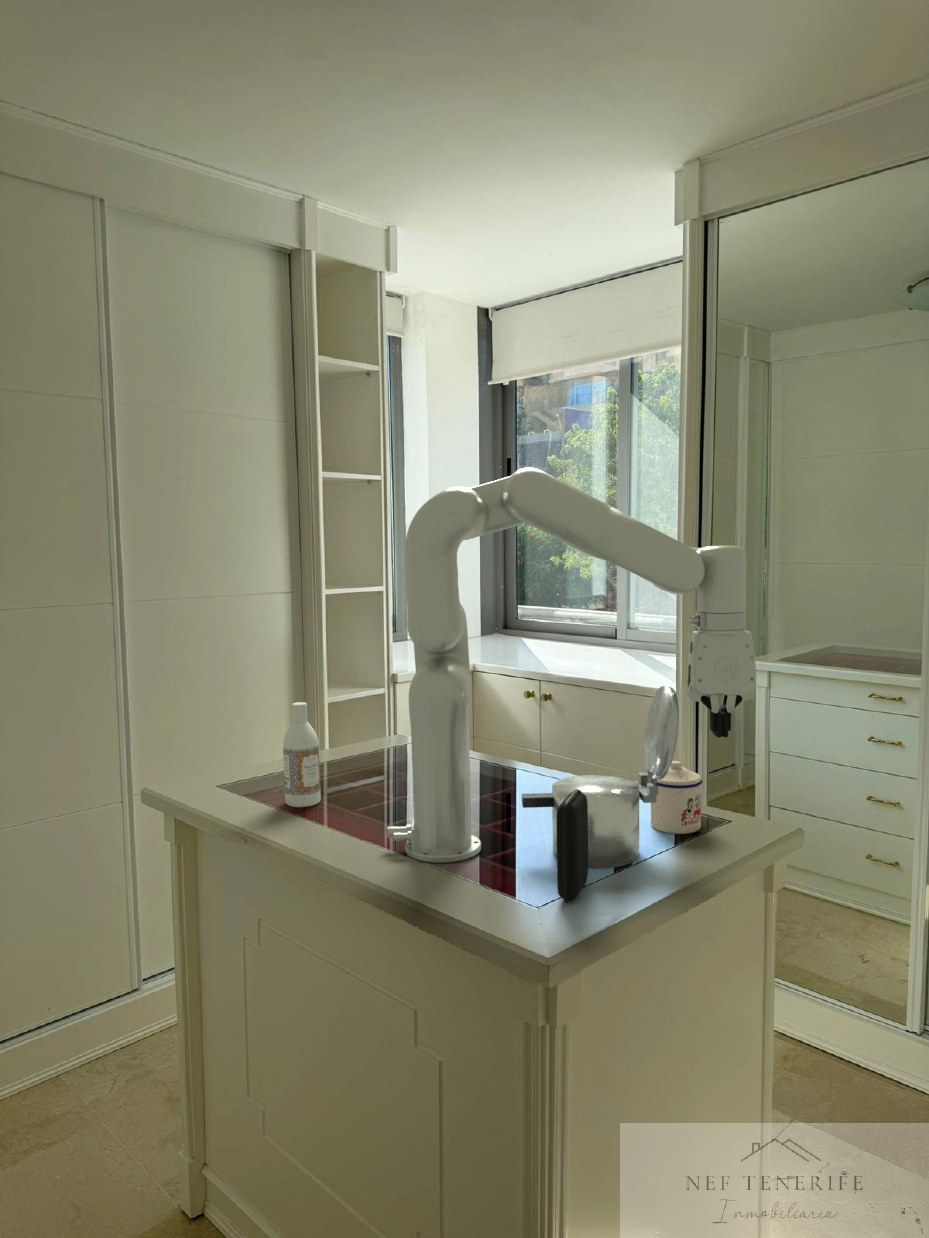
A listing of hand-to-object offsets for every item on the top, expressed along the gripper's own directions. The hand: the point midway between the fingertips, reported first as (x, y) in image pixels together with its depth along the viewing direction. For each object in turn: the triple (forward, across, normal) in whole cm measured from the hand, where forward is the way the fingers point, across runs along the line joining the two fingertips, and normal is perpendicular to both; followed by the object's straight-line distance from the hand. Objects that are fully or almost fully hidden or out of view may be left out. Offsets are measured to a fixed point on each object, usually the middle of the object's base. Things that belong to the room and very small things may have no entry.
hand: (720, 735), depth 144 cm
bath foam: (+19, -73, +32) cm, 82 cm away
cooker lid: (0, -10, 0) cm, 10 cm away
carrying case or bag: (+19, -26, -16) cm, 36 cm away
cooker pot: (+19, -22, 0) cm, 29 cm away
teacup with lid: (+19, -3, +13) cm, 23 cm away
